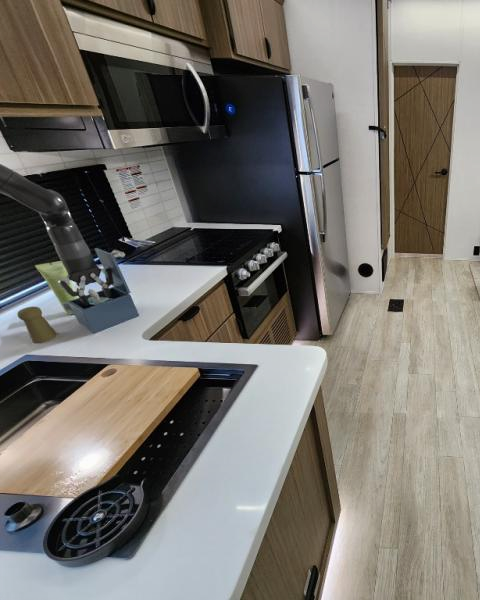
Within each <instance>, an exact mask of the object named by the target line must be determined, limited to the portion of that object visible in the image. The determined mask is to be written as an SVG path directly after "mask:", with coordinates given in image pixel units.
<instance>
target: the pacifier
mask: <svg viewBox="0 0 480 600" xmlns="http://www.w3.org/2000/svg"><path fill="white" fill-rule="evenodd" d="M96 292H97V291H95V290H94V289H92V288H89V289H88V291H87V293H88V295H90V296H92V297H90V298H88V301H89V303H90V305H98V304H101V303H104V302H106V301H108V300H113V299H112V298H105V297H98V296H99V295H98V294H97V293H96Z"/></svg>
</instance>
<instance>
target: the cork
mask: <svg viewBox="0 0 480 600" xmlns="http://www.w3.org/2000/svg"><path fill="white" fill-rule="evenodd" d="M17 318H18V319H20V320H21V321H23V322H24V324H25V327H26V330H27V333H28V335H29V337H30V340H31V342H32V343H33V344H41V343H45V342H48V341H51V340H53V339H55V338H57V336H58V332H56V330H55V329H54V328H53V327H52V325H51V324H50V323H49V322H48V321H47V319H46V318H45V317H44V316H43V311H42V309H41V308H40V307H38V306H28V307H24V308H22V309H20V310H18V311H17Z"/></svg>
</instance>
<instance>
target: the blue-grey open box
mask: <svg viewBox="0 0 480 600" xmlns="http://www.w3.org/2000/svg"><path fill="white" fill-rule="evenodd" d="M109 290H110V292H111V294H112V296H110V297H111V298H112V299H113V300H108V301H106V302H104V303H101V304H98V305H88V306H87V305H86V304H83V303H82V302H81V300H80V298H79V297H78V298H77V299H74V300H70V301H67V302H68V304H69V306H70V308H71V309H72V311H73V313H74V314H73V315H74V317H75V318H76V320H77V322H78V324H79V325H81V327H84V328H86V329H87V330H88V331H90V332H91V333H92V334H94V335H95V334H97V333H100V332H102V331H105V330H108V329H110V328H112V327H115V326H118V325H121V324H122V323H126V322H128V321H130V320H132V319H135V318H137V317H140V313H139V311H138V309H137V307H136V305H135V302H134V299H133V298H132V296H131V293H129V294H128V293H126V292H124V291H122V290H120V289H118V288H116V287H114V286H112V287H111V286H110V287H109ZM95 292H96V293H97V294H98V295H99V296H98V297H105V298H107V297H106V296H105V294H104V292H103V290H102V289H101V290H99V291H95ZM85 295H86V297H87V299H88V298H90V297H92V296H90V295H89V294H85Z"/></svg>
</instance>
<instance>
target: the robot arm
mask: <svg viewBox="0 0 480 600" xmlns="http://www.w3.org/2000/svg"><path fill="white" fill-rule="evenodd" d="M0 194H1V195H2V194H3V195H4V196H7V197H9V198H11V199H13V200H15V201H16V202H18V203H20V204H21V205H23V206H25V207H27V208H29V209H31V210H33V211H35V212H37V213H38V214H39V216H40V217H41V220H42V222H43V223H44V225H45V229H46V231H47V234H48V236H49V238H50V240H51V242H52V243H53V247H54V249H55V252H56V254H57V255H58V257H59V260H60V261H62V263H63V265H64V267H65V269H66V271H67V273H68V276H67V278H65V279H62V280H58V283H59V284H60V285H61V286H62V287H63V288H64V289H65V291H66V292H67V293H68V294H69V295H71V296H73V297H75V296H78V298H80V300H81V302H82V303H83V304H86V305H87V306H88V305H90V303H89V301H88V299H87V297H86V295H87V294H85V289H86V286H89V285H90V284H95V283H96V284H98V285H99V286H100V287H101V291H102V290H103V292H104V294H105V296H106V297H107V298H111V297H110V296H112V294H111V292H110V290H109V288H110V287H111V286H112V285H113V284H114V282H113V276H112V271H111V268H108V267H104V268H103V267H98V265H97V263H96V260H95V259H94V256H93V254H92V253H91V249H90V248H89V246H88V244H87V243H86V241H85V240H84V238H83V236H82V234H81V233H82V232H81V231H80V229H79V227H78V226H77V224H76V223H75V221H74V219H73V217H72V214H71V211H70V209H69V206H68V205H67V202H66V200H65V198H64V197H63V195H61V194H60V193H59V192H57V191H55V190H53V189H47V188H44V187H43V186H41V185H39V184H36V183H35V182H32V181H30V180H29V179H27V178H26V177H25V176H23V175H22V174H21V173H18V172H17V171H14V170H13V169H11V168H9V167H8V166H5V165H4V164H1V163H0ZM101 273H102V274H103V275H105V281H104V280H102V279H101V278H100V276H101ZM70 280H71V281H72V282H73V283H75V288H76V289H75V292H74V291H73V290H72V289H71V288H70V287H69V286H68V285H69V284H70V283H69V281H70Z"/></svg>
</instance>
